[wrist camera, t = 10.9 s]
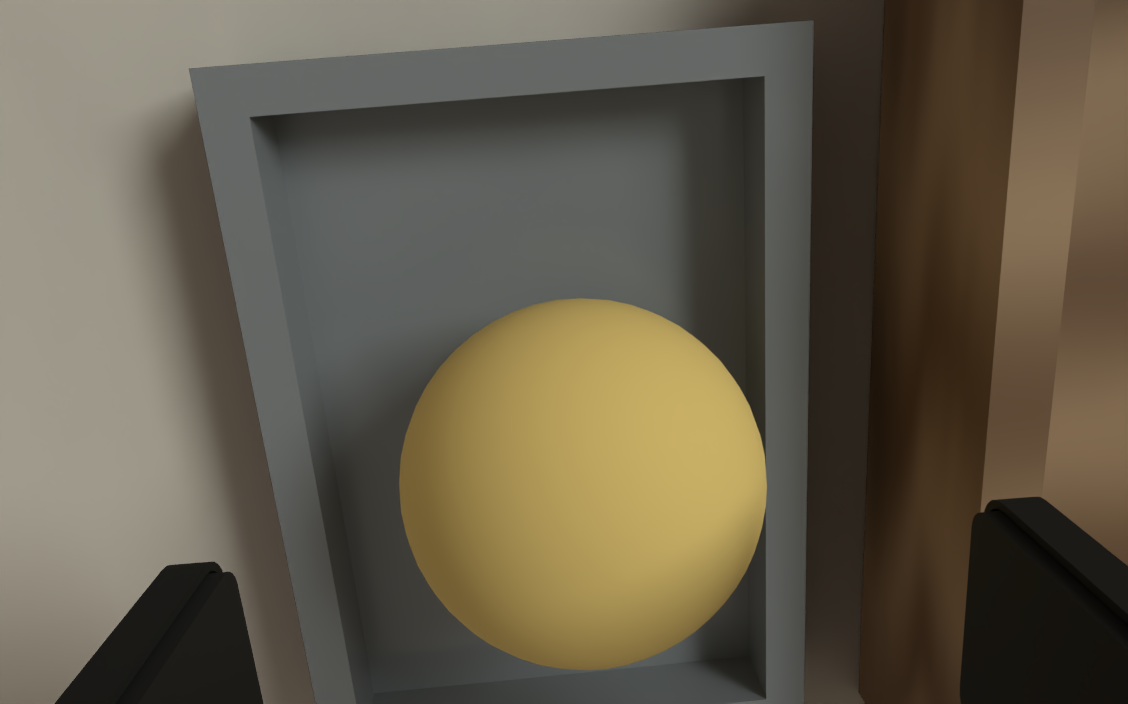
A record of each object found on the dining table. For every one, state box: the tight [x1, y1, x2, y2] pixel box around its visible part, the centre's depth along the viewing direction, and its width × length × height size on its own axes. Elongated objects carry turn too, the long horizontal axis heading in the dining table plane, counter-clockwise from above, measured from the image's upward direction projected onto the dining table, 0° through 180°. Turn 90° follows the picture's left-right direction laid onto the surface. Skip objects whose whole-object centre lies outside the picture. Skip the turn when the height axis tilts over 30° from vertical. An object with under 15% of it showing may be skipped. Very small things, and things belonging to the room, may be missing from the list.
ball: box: [399, 298, 767, 670], centre depth 14 cm, size 6×6×6 cm
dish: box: [189, 20, 814, 704], centre depth 17 cm, size 14×10×2 cm
